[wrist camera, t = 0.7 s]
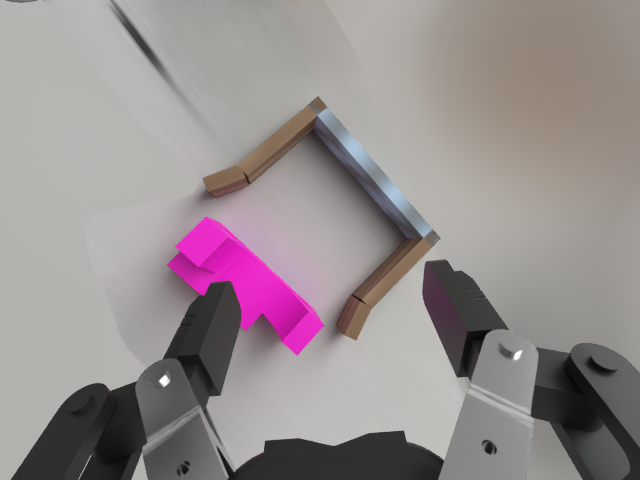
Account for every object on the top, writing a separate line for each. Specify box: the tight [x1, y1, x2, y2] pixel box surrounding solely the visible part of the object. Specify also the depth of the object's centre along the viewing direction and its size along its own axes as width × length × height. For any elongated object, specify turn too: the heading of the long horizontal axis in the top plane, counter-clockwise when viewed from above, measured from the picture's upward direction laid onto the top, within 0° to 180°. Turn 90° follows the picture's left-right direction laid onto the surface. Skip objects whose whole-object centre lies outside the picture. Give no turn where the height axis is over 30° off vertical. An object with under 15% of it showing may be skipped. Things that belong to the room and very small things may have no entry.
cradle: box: [203, 97, 440, 340], centre depth 34 cm, size 24×16×4 cm, turn 43°
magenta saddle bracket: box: [167, 217, 324, 355], centre depth 31 cm, size 15×6×8 cm, turn 47°
